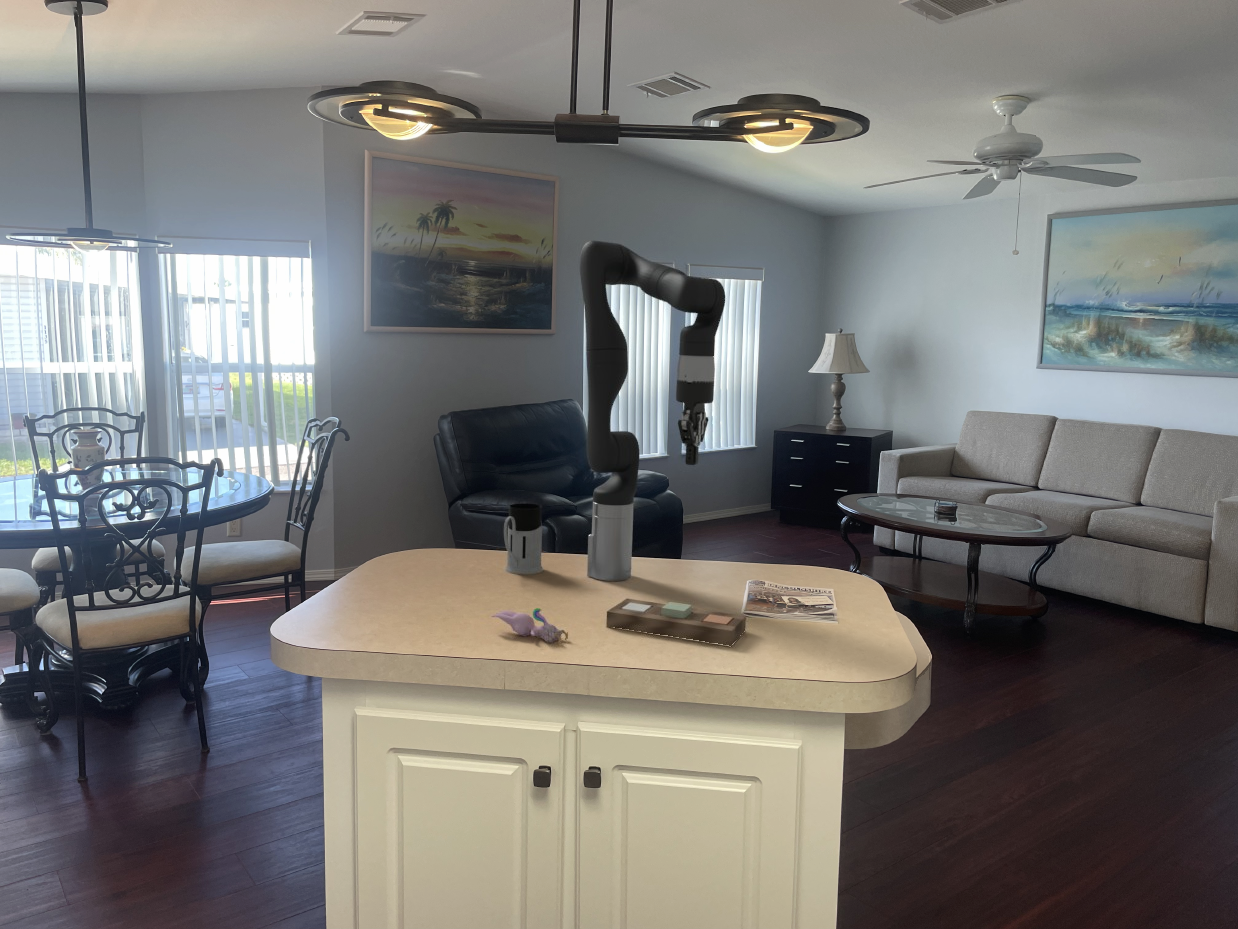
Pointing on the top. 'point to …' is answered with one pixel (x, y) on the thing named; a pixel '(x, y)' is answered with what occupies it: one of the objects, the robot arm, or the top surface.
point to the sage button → (676, 610)
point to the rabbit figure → (531, 625)
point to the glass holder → (524, 538)
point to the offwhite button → (636, 607)
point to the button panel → (676, 623)
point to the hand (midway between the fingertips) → (691, 464)
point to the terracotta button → (718, 619)
